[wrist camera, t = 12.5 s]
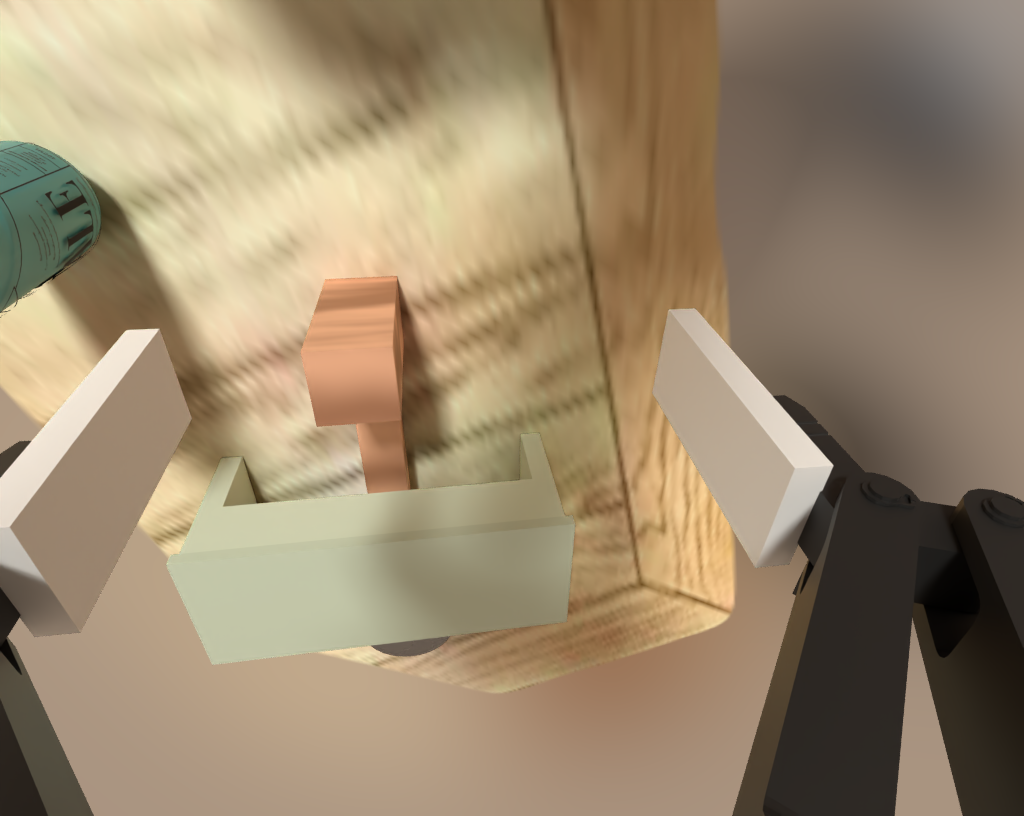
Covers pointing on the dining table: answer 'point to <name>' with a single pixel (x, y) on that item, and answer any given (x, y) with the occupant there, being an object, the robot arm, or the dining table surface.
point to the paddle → (361, 372)
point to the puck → (411, 646)
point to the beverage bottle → (41, 218)
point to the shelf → (373, 563)
